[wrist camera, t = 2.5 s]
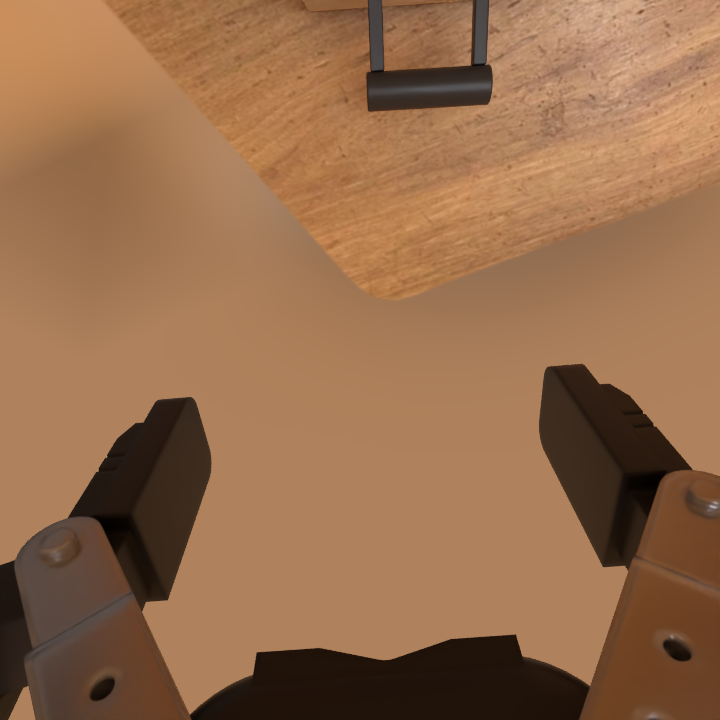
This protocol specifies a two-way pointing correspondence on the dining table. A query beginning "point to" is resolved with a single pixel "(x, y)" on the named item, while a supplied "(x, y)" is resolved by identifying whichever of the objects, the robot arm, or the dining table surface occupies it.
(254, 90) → the dining table surface
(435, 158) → the dining table surface
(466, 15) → the dining table surface
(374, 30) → the drawer
